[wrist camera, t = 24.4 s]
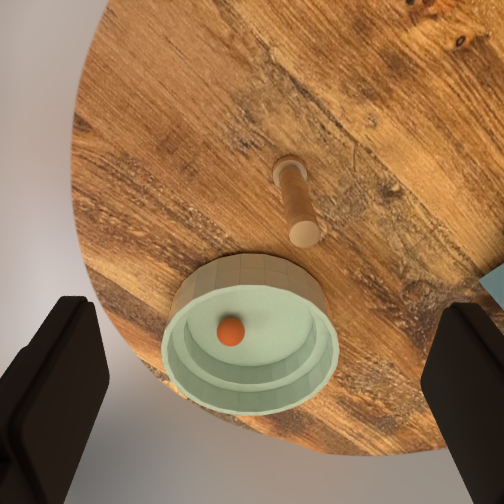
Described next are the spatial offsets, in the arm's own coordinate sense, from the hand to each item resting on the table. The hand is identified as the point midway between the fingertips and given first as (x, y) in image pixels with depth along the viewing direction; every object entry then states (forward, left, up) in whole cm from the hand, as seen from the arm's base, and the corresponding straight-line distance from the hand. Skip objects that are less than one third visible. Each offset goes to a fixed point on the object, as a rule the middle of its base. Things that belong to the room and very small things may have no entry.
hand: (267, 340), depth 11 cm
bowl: (0, -21, -26) cm, 34 cm away
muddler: (+3, -4, -26) cm, 27 cm away
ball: (-2, -21, -24) cm, 32 cm away
